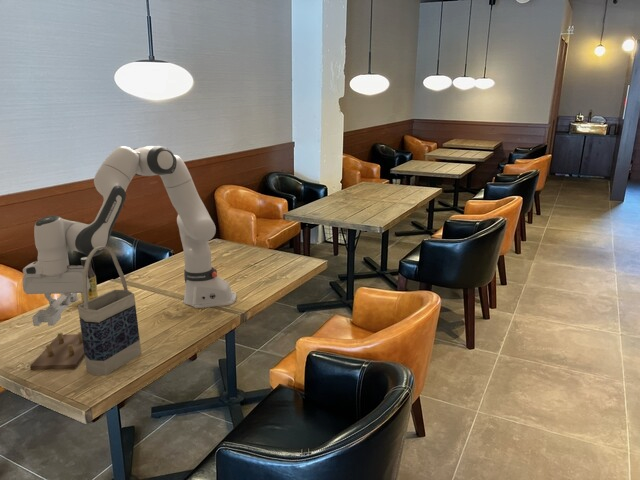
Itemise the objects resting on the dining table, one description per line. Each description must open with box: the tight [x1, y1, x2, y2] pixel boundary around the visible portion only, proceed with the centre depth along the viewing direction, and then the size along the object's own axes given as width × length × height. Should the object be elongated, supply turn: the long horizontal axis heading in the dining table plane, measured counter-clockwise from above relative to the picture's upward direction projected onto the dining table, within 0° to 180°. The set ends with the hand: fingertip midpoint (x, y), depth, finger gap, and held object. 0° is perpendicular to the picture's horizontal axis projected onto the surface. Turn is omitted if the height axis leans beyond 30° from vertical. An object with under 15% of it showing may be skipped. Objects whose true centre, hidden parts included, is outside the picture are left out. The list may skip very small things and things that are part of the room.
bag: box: [77, 246, 142, 376], centre depth 162 cm, size 18×9×40 cm, turn 155°
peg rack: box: [29, 331, 85, 371], centre depth 172 cm, size 14×22×5 cm, turn 5°
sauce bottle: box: [80, 256, 99, 304], centre depth 212 cm, size 7×6×20 cm
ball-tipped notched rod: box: [31, 293, 79, 327], centre depth 168 cm, size 23×6×3 cm, turn 4°
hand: (59, 305), depth 169 cm, fingers closed on ball-tipped notched rod, 3 cm apart
